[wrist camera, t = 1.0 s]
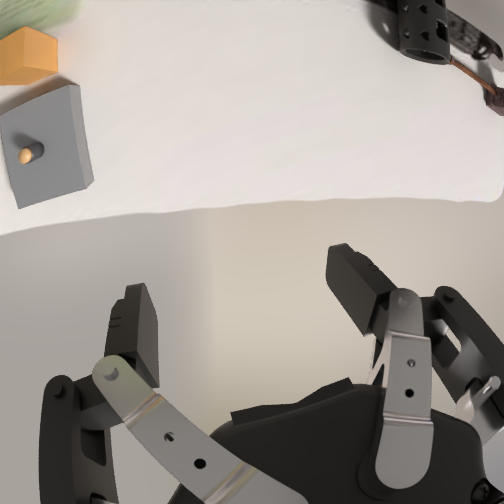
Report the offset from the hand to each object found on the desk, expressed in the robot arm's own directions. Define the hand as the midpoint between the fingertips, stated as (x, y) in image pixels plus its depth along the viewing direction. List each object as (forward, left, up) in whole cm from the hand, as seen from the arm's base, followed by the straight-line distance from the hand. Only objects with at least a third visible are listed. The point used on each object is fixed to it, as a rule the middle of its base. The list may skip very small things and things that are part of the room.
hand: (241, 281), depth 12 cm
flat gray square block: (-6, -21, -29) cm, 36 cm away
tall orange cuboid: (-19, -21, -29) cm, 41 cm away
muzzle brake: (-31, +37, -29) cm, 57 cm away
